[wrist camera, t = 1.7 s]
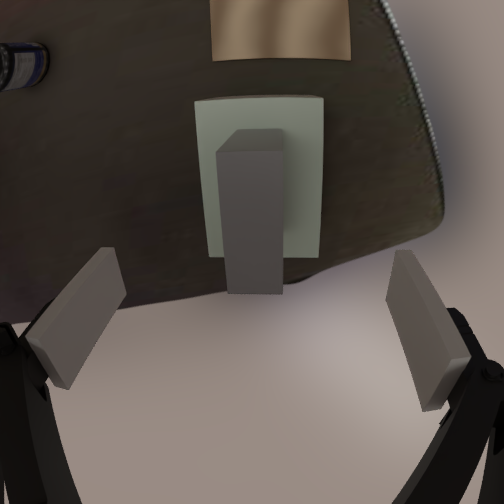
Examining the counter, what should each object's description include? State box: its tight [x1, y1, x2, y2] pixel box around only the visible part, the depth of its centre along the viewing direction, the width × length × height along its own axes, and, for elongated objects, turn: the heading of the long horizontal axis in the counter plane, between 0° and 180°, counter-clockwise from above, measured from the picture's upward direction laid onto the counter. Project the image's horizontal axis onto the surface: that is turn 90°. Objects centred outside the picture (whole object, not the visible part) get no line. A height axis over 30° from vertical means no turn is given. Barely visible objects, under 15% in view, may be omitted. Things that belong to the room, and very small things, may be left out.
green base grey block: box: [195, 97, 323, 294], centre depth 23 cm, size 10×14×11 cm
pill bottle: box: [0, 43, 49, 92], centre depth 24 cm, size 6×6×11 cm
